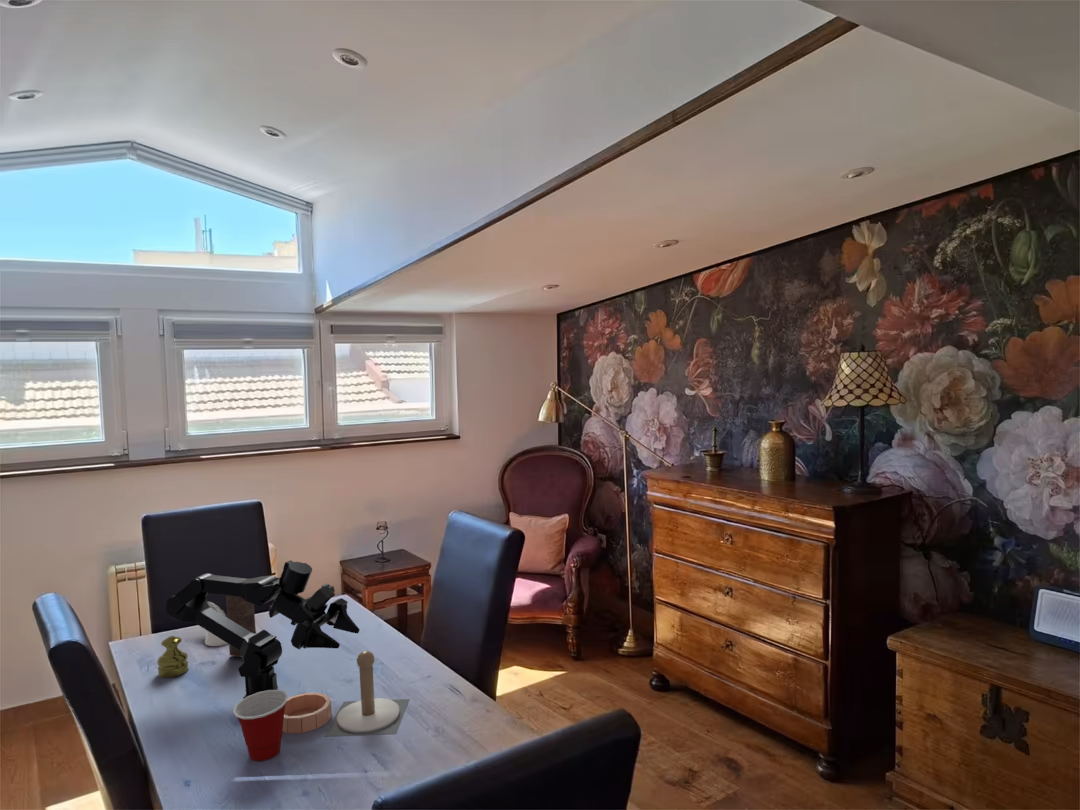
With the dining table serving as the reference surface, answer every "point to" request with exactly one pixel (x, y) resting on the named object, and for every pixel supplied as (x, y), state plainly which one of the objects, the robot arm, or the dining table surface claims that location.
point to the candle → (240, 617)
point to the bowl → (306, 712)
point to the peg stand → (367, 703)
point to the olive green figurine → (172, 659)
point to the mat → (391, 729)
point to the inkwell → (210, 638)
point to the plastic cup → (262, 722)
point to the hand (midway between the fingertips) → (349, 638)
